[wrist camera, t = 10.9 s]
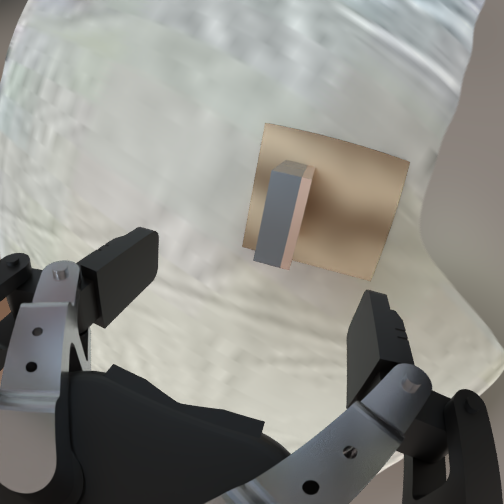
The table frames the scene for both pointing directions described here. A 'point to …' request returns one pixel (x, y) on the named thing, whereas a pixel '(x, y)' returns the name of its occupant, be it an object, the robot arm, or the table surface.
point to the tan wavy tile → (333, 199)
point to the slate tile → (283, 213)
